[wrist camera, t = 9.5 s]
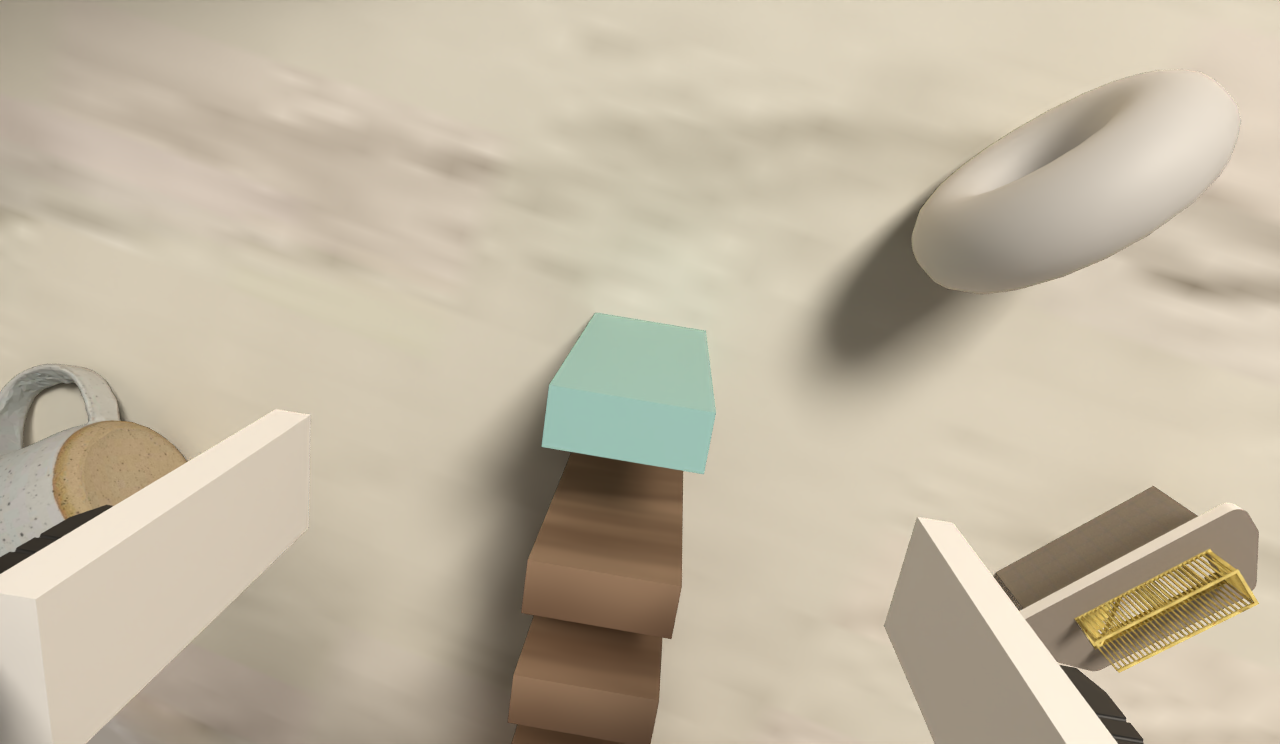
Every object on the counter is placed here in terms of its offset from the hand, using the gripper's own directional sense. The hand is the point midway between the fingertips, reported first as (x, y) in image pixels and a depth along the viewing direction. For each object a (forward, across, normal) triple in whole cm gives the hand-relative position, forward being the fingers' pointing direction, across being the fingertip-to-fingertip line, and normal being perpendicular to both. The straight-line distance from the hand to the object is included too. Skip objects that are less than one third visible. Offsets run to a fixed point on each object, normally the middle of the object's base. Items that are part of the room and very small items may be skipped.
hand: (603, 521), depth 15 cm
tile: (+17, 0, 0) cm, 17 cm away
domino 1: (+17, 0, -6) cm, 18 cm away
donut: (+17, +13, +9) cm, 23 cm away
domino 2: (+17, 0, -11) cm, 20 cm away
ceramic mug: (+17, -25, -11) cm, 33 cm away
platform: (+18, +22, -7) cm, 29 cm away
